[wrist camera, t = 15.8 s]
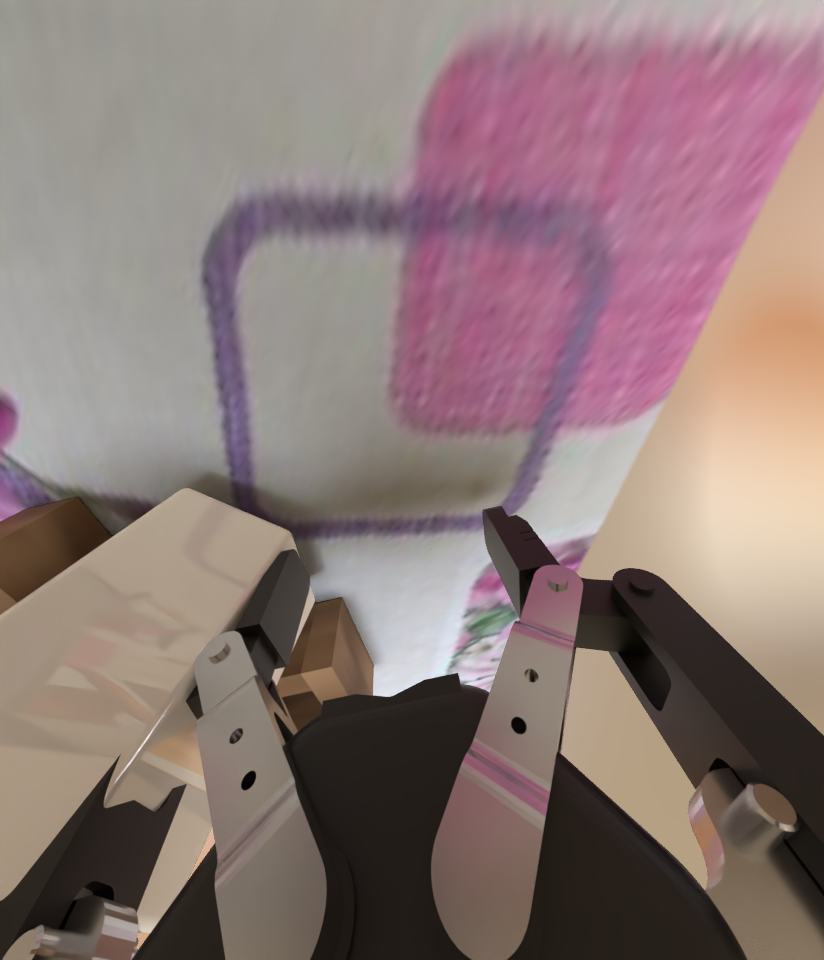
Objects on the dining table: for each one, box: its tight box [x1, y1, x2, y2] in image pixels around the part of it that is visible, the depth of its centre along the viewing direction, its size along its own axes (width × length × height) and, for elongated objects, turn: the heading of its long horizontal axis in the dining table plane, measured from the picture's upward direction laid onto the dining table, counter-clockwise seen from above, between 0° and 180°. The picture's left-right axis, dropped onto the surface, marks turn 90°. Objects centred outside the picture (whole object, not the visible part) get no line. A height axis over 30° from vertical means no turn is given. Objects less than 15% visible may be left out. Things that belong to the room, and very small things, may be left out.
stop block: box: [0, 497, 112, 614], centre depth 13 cm, size 7×2×4 cm, turn 12°
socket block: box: [277, 598, 374, 731], centre depth 17 cm, size 7×7×4 cm
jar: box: [0, 488, 315, 947], centre depth 9 cm, size 9×8×12 cm
